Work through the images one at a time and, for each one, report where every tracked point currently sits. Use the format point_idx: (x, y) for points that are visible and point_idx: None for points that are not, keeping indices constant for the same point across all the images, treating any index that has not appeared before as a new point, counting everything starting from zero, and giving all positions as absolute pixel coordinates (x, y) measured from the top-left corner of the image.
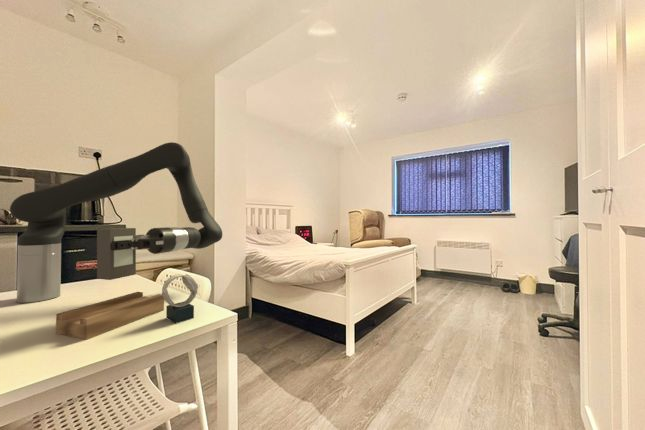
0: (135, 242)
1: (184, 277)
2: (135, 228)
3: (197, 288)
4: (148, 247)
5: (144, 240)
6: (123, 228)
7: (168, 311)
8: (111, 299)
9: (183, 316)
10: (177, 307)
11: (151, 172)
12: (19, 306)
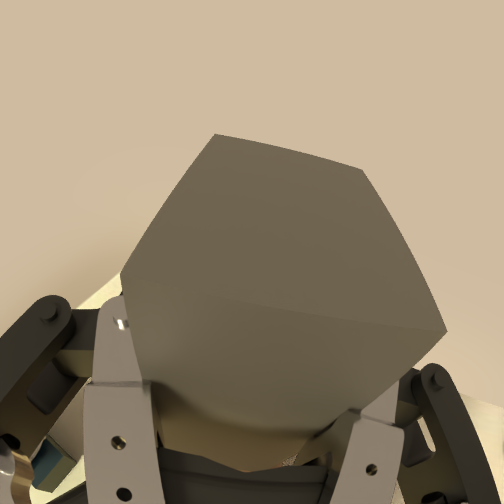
0: (88, 314)
1: None
2: (120, 275)
3: None
4: (29, 386)
5: (22, 329)
6: (221, 192)
7: (57, 447)
8: (273, 467)
9: None
10: (37, 454)
11: None
12: (497, 420)
